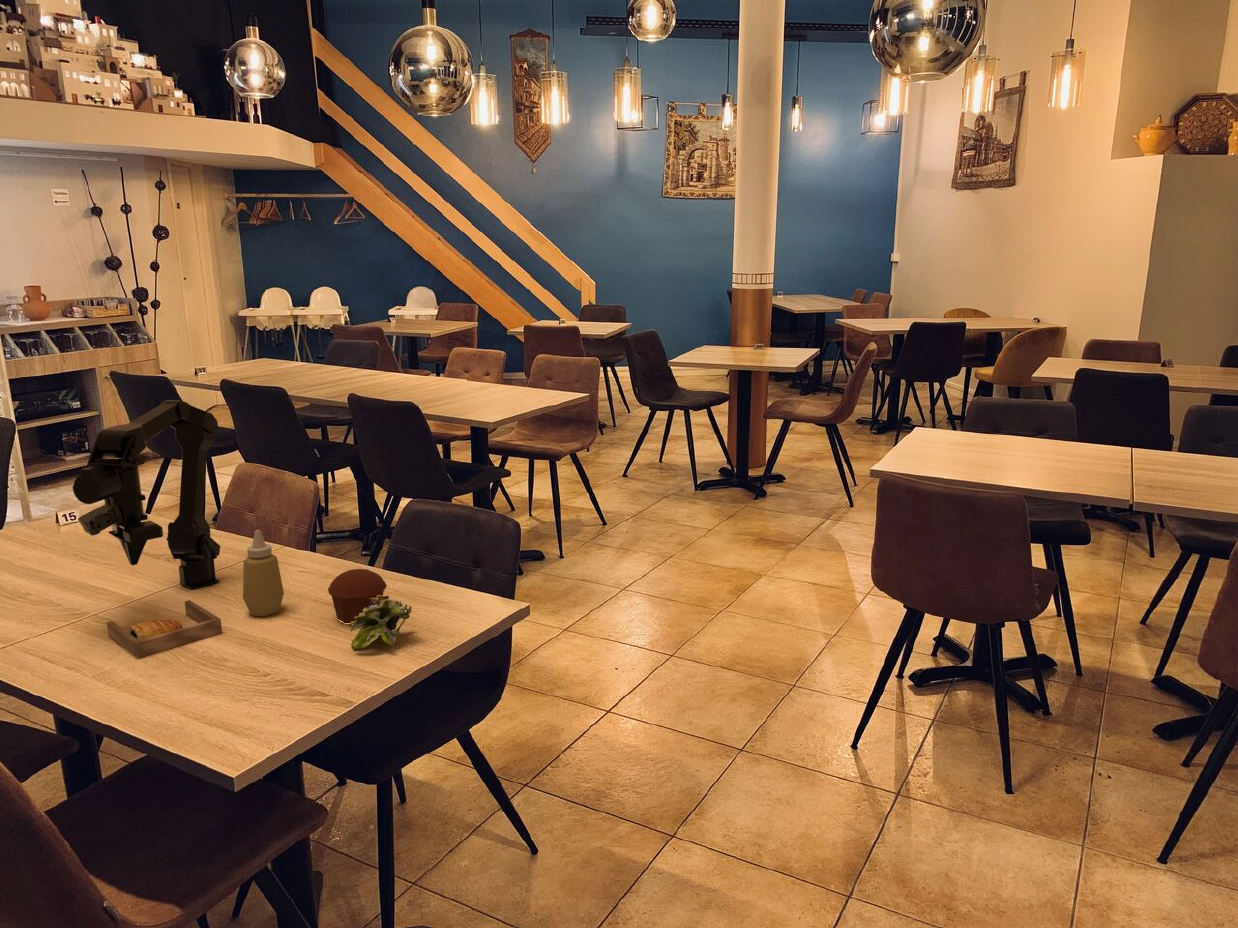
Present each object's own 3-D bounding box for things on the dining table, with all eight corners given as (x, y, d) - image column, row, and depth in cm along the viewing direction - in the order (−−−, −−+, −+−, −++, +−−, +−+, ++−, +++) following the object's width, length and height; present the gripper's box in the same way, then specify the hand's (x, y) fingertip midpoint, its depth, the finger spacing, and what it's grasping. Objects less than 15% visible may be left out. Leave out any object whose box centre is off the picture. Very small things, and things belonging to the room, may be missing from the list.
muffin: (390, 605, 194) (388, 561, 192) (386, 625, 183) (383, 579, 181) (333, 608, 192) (330, 564, 190) (326, 629, 181) (322, 583, 179)
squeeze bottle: (293, 608, 192) (287, 527, 188) (264, 622, 185) (257, 538, 181) (265, 602, 195) (258, 522, 191) (235, 615, 188) (227, 533, 184)
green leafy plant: (382, 661, 180) (407, 605, 183) (405, 671, 171) (431, 612, 174) (332, 641, 174) (359, 584, 177) (354, 651, 165) (382, 590, 168)
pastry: (175, 626, 183) (173, 608, 182) (189, 636, 179) (187, 618, 178) (125, 640, 176) (123, 622, 175) (139, 651, 172) (137, 632, 171)
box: (190, 613, 189) (189, 599, 188) (222, 632, 179) (220, 618, 179) (108, 636, 177) (106, 622, 177) (137, 658, 168) (135, 643, 167)
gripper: (64, 490, 180) (74, 563, 184) (98, 507, 168) (108, 586, 172) (123, 480, 189) (131, 551, 192) (159, 496, 176) (168, 571, 180)
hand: (133, 564), depth 184 cm, fingers closed
